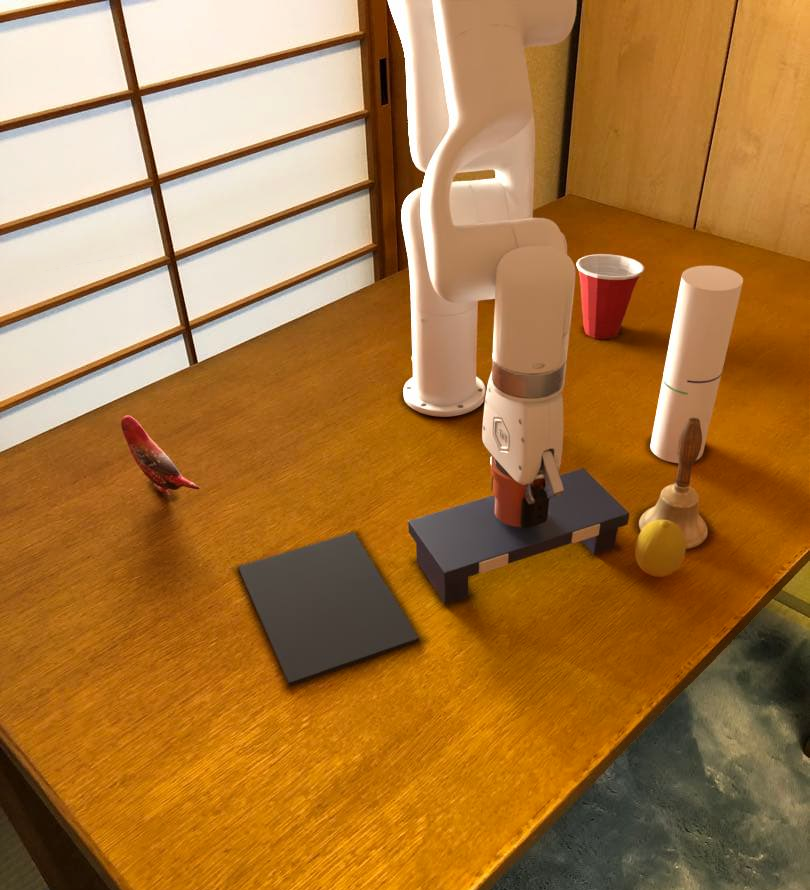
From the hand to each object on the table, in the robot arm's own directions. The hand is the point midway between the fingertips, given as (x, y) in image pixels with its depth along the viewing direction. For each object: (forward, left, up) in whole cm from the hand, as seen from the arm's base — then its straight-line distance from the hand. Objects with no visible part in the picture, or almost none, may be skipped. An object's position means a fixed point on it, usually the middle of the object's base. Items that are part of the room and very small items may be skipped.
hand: (518, 505), depth 102 cm
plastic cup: (-44, +41, -8) cm, 60 cm away
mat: (-2, -24, -7) cm, 25 cm away
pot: (0, 0, -1) cm, 1 cm away
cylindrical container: (-10, +31, -8) cm, 33 cm away
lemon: (+10, +13, -8) cm, 18 cm away
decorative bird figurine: (-30, -36, -8) cm, 47 cm away
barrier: (0, 0, -7) cm, 7 cm away
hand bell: (+4, +20, -8) cm, 22 cm away
